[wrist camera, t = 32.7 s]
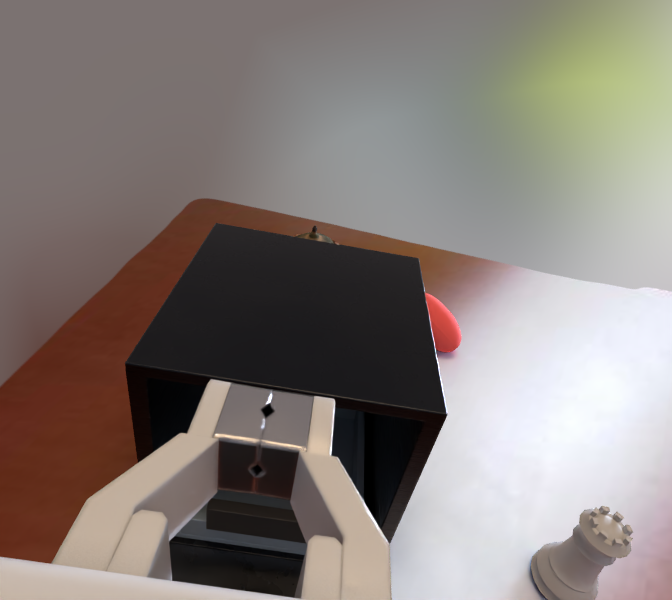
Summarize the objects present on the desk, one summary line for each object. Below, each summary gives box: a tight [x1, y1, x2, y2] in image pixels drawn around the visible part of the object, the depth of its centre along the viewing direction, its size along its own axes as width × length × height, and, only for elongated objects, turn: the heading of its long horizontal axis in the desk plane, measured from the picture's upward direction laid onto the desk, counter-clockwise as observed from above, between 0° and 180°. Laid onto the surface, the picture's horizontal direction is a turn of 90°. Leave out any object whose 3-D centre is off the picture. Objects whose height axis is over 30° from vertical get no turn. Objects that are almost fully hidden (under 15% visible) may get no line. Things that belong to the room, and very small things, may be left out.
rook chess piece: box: [531, 506, 633, 600], centre depth 32 cm, size 4×4×8 cm
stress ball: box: [425, 293, 461, 352], centre depth 55 cm, size 5×9×6 cm, turn 16°
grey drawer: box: [175, 407, 365, 555], centre depth 36 cm, size 14×13×5 cm
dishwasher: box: [125, 223, 447, 598], centre depth 29 cm, size 28×16×17 cm, turn 177°
